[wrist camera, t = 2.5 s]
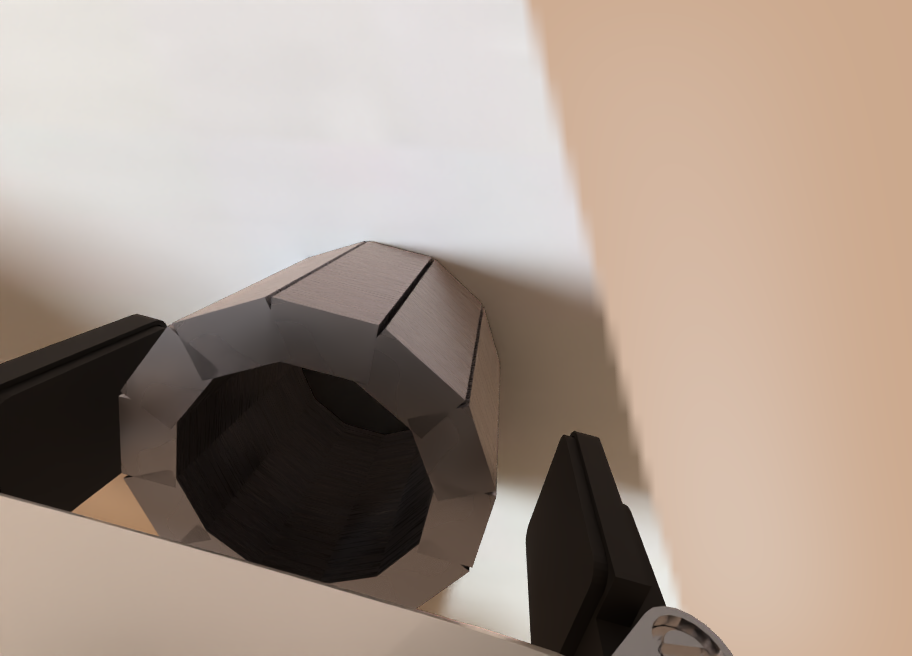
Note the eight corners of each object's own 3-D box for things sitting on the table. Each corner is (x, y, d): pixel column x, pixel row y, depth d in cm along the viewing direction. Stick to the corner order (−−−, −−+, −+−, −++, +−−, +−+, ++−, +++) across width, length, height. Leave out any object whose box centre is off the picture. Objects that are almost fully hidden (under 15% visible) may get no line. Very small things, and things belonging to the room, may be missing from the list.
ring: (275, 217, 11) (112, 255, 7) (525, 281, 11) (540, 367, 7) (256, 429, 14) (125, 570, 9) (464, 484, 13) (442, 656, 9)
